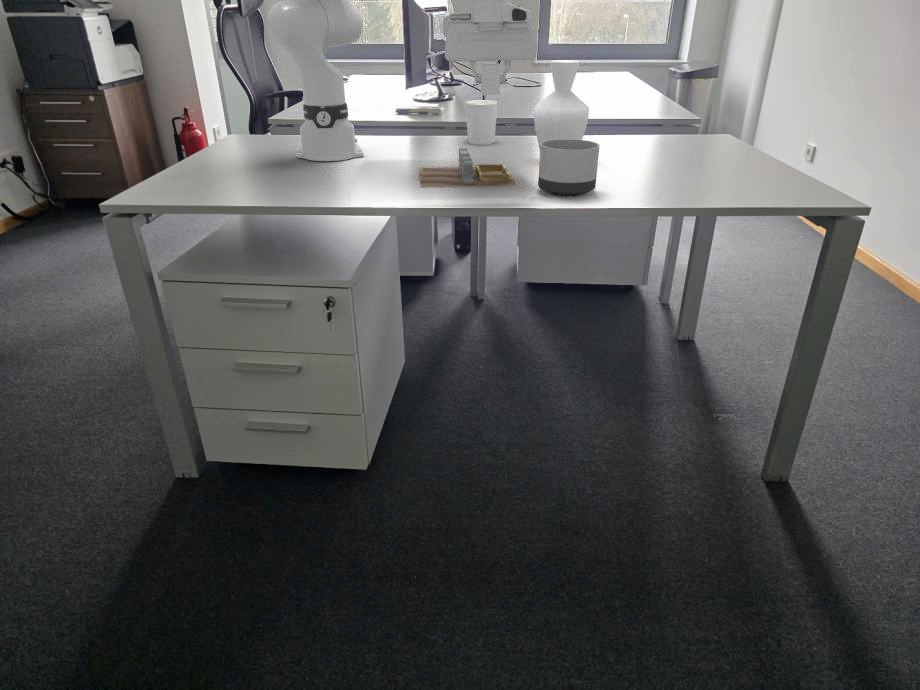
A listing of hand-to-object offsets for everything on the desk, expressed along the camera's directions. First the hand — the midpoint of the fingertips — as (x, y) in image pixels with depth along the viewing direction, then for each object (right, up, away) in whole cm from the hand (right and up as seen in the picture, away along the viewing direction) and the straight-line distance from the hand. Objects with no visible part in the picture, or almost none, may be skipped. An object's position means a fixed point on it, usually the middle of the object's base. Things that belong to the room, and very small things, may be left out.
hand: (490, 83), depth 138 cm
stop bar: (0, -2, +1) cm, 2 cm away
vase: (+20, -9, +30) cm, 37 cm away
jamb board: (-5, -19, +10) cm, 23 cm away
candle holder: (0, +4, +55) cm, 55 cm away
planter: (+17, -24, +1) cm, 30 cm away
